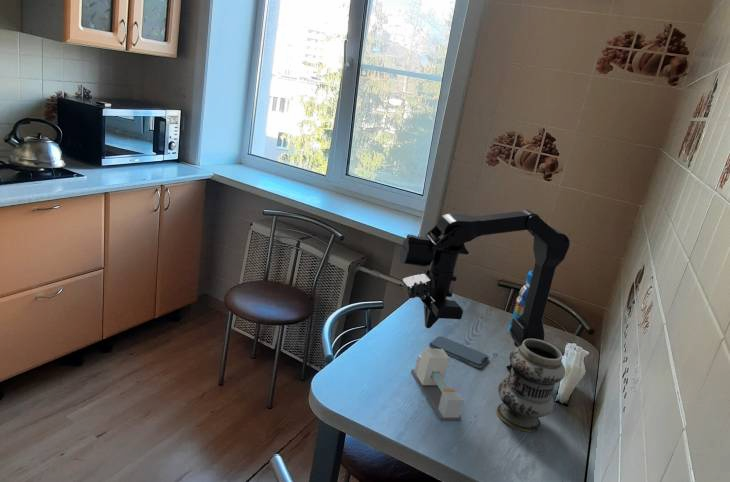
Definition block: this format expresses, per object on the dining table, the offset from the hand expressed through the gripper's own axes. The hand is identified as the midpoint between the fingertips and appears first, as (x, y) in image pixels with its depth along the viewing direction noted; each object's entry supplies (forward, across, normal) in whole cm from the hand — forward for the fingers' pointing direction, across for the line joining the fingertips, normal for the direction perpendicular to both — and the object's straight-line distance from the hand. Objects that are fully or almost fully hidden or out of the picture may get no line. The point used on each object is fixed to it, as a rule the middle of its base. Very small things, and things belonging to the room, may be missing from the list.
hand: (427, 327), depth 126 cm
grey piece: (+11, +12, 0) cm, 16 cm away
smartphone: (+12, -8, +15) cm, 20 cm away
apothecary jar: (+11, +20, +17) cm, 29 cm away
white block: (+10, +8, 0) cm, 12 cm away
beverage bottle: (+11, -20, +42) cm, 48 cm away
